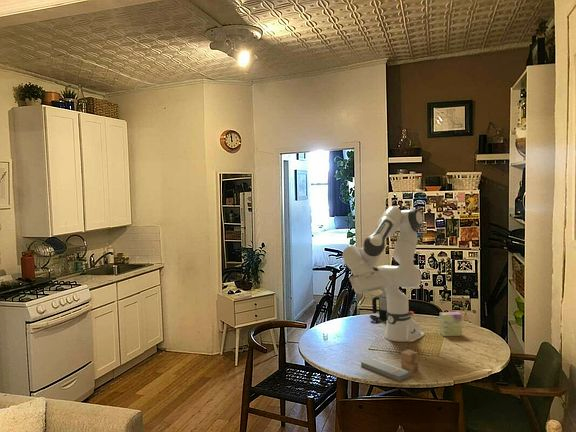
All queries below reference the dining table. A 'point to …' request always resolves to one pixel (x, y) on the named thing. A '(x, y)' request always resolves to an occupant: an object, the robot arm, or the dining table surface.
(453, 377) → the dining table surface
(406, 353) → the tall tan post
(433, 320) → the dining table surface
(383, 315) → the milk frother
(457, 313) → the box
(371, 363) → the board
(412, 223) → the robot arm
